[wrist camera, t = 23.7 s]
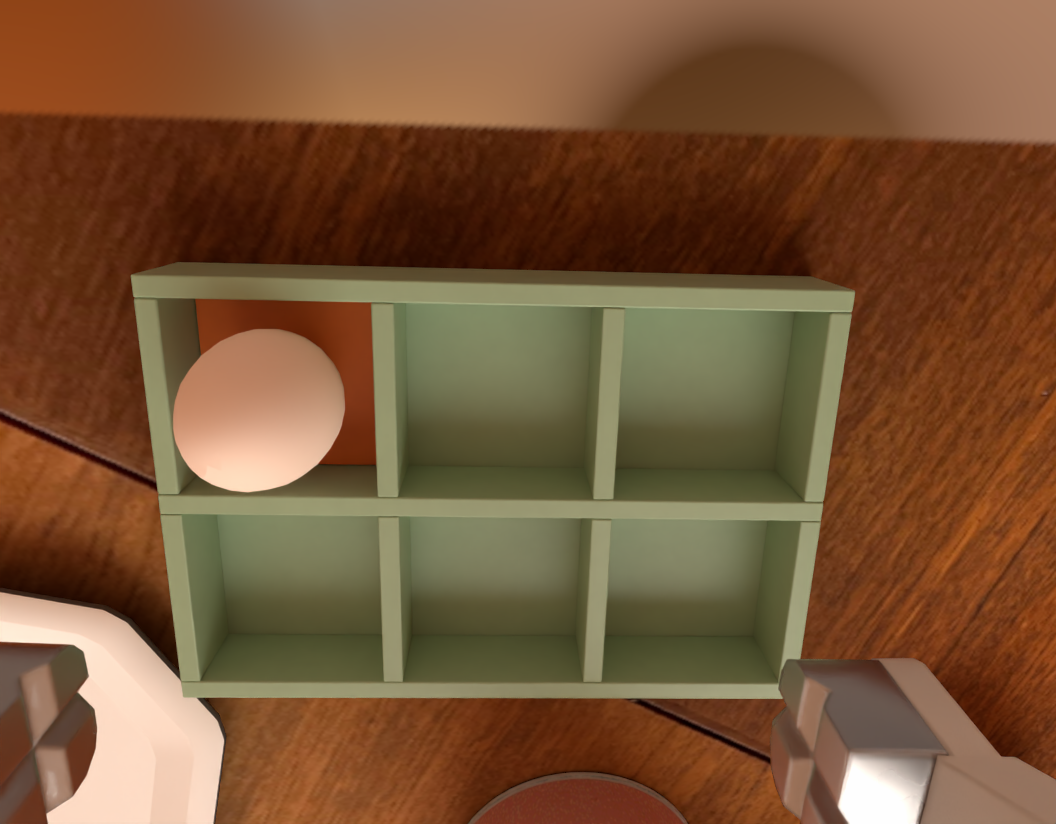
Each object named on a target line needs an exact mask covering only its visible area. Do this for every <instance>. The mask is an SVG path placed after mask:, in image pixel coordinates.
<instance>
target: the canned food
mask: <svg viewBox="0 0 1056 824" xmlns="http://www.w3.org/2000/svg"><path fill="white" fill-rule="evenodd" d="M468 824H688V823H687V821H686V819H685V818H684V817H683V816H682V814H681V813H680V812H679V811H678V810H677V809H676V808H675V807H674V806H673V805H672V804H671V803H670V802H669V801H668V800H666V799H665V798H664V797H663V796H661V795H660V794H658V793H656V792H655V791H653V790H651V789H650V788H648V787H646V786H644V785H642V784H639V783H637V782H634V781H632V780H629V779H625V778H622V777H618V776H614V775H609V774H602V773H592V772H570V773H561V774H554V775H549V776H544V777H541V778H537V779H533V780H530V781H528V782H525V783H522V784H520V785H518V786H515V787H513V788H511V789H509V790H507V791H506V792H504V793H502V794H500V795H499V796H497V797H496V798H494V799H493V800H492V801H490V802H489V803H488V804H487V805H485V806H484V807H483V808H482V809H481V810H480V811H479V812H478V813H477V814H476V815H475V816H474V817H473V818H472V819H471V820H470V822H469V823H468Z"/></svg>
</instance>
